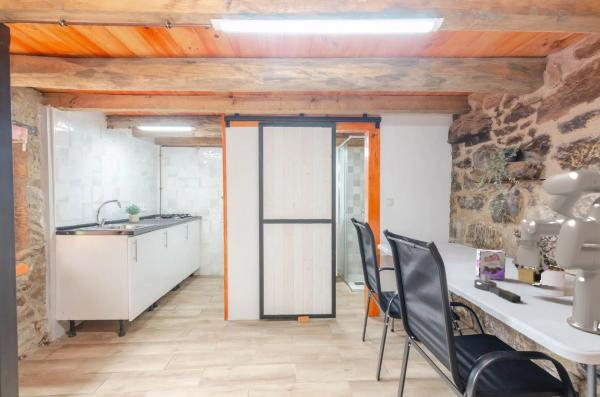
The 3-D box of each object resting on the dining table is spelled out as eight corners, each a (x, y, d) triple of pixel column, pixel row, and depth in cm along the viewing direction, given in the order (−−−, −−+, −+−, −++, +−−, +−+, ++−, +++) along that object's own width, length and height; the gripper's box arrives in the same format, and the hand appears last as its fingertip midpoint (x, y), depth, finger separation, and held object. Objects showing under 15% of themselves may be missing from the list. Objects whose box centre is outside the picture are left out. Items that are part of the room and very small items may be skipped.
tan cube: (540, 282, 146) (540, 270, 146) (532, 283, 144) (533, 271, 144) (525, 279, 152) (525, 267, 152) (518, 280, 149) (518, 268, 149)
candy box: (478, 278, 176) (479, 250, 175) (475, 275, 182) (476, 248, 181) (504, 280, 173) (506, 252, 172) (500, 277, 178) (502, 250, 178)
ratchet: (525, 302, 139) (526, 287, 139) (506, 302, 138) (506, 287, 138) (487, 284, 164) (487, 272, 164) (470, 284, 163) (470, 272, 163)
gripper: (554, 246, 142) (554, 283, 142) (515, 241, 157) (514, 275, 157) (546, 246, 138) (545, 285, 138) (506, 241, 154) (506, 276, 154)
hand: (529, 279), depth 148 cm, fingers closed on tan cube, 6 cm apart
